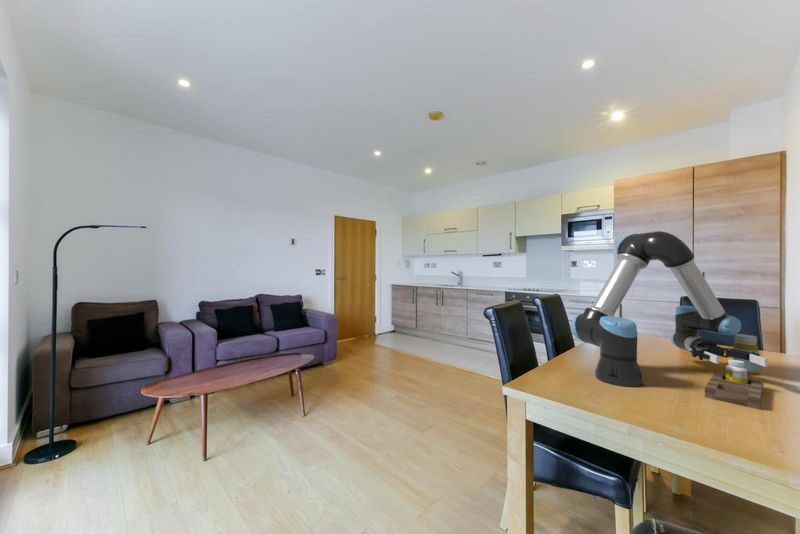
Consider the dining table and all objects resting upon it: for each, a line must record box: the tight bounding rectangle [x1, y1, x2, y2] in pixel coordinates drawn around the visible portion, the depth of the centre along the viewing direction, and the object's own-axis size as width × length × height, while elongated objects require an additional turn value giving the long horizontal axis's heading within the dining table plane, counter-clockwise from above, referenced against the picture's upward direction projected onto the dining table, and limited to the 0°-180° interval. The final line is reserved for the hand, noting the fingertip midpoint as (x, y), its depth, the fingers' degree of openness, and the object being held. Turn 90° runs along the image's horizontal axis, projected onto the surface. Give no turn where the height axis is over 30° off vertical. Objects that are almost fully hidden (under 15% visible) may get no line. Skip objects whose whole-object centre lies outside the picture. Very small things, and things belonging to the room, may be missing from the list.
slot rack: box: [704, 371, 764, 410], centre depth 108 cm, size 26×12×3 cm, turn 129°
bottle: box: [732, 333, 760, 376], centre depth 129 cm, size 7×7×15 cm
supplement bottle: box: [724, 359, 748, 384], centre depth 112 cm, size 5×5×10 cm
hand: (741, 361), depth 110 cm, fingers open, 13 cm apart
